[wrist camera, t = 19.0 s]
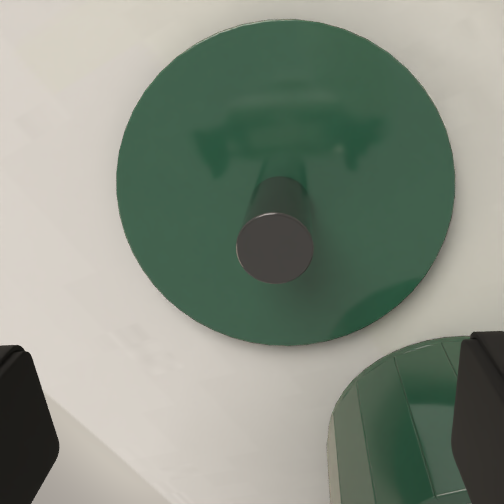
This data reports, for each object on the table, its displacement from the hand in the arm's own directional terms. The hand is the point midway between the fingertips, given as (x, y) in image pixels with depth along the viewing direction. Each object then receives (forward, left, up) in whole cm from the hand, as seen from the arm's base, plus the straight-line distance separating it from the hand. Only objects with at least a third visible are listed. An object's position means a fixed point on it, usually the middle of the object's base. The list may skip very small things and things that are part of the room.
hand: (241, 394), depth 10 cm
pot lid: (0, 0, -13) cm, 13 cm away
